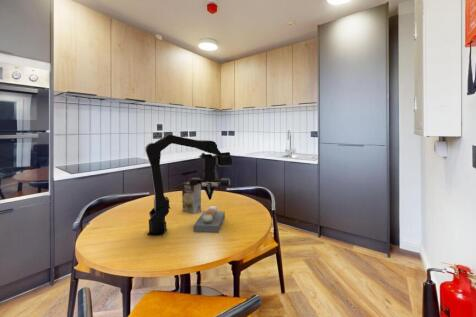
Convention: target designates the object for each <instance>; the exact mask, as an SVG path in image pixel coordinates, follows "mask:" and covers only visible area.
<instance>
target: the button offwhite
mask: <svg viewBox="0 0 476 317" xmlns="http://www.w3.org/2000/svg"><path fill="white" fill-rule="evenodd" d="M208 210H214V211H215V212H217V211H218V206H216V205H213V206H208Z"/></svg>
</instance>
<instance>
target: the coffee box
mask: <svg viewBox="0 0 476 317" xmlns="http://www.w3.org/2000/svg"><path fill="white" fill-rule="evenodd" d="M201 186H202V184H200V183H197V185H196V186H192V185H189V181H185V182H182V183H181V189H182V190H181V191H182V192H181V194H182V195H181V196H182V197H181V198H182V212H187V213H190V214H197V213H200V212H201V211H202V187H201Z"/></svg>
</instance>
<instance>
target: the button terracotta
mask: <svg viewBox="0 0 476 317" xmlns="http://www.w3.org/2000/svg"><path fill="white" fill-rule="evenodd" d="M205 211H206V215H212V216H215V211H214V210H209V209H208V210H205Z"/></svg>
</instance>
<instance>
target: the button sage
mask: <svg viewBox="0 0 476 317" xmlns="http://www.w3.org/2000/svg"><path fill="white" fill-rule="evenodd" d="M203 221H205V222H209V221H212V215H203Z"/></svg>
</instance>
